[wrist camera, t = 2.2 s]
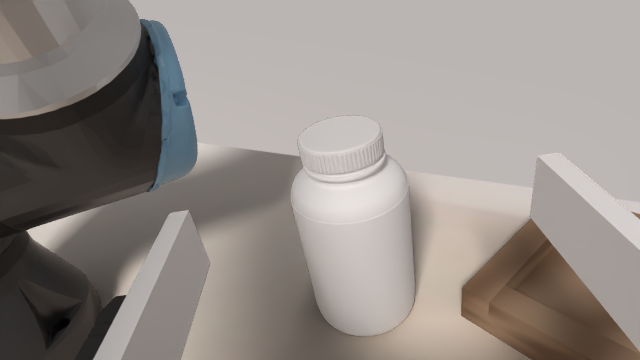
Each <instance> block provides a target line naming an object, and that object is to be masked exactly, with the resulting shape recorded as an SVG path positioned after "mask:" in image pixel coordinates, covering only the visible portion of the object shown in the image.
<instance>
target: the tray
mask: <svg viewBox="0 0 640 360" xmlns="http://www.w3.org/2000/svg"><path fill="white" fill-rule="evenodd" d="M630 212H631V211H630ZM631 213H633V214H634V215H635V216H636V217H637V218H639V219H640V214H637V213H634V212H631ZM461 316H463V317H464V318H466V319H468V320H469V321H471V322H473V323H474V324H476V325H477V326H479V327H481V328H482V329H484V330H485V331H487V332H489V333H490V334H492V335H494V336H495V337H497V338H498V339H500V340H502V341H503V342H505V343H506V344H508V345H510V346H511V347H513V348H515V349H516V350H518V351H519V352H521V353H523V354H524V355H526V356H528V357H529V358H531V359H532V360H640V352H639V350H638V349H637V348H636V347H635V345H634V344H633V343H632V342H631V340H630V339H629V338H628V337H627V336H626V334H625V333H624V332H623V331H622V329H621V328H620V327H619V326H618V324H617V323H616V322H615V321H614V320H613V318H612V317H611V316H610V315H609V313H608V312H607V311H606V310H605V308H604V307H603V306H602V305H601V304H600V302H599V301H598V300H597V299H596V297H595V296H594V295H593V294H592V292H591V291H590V290H589V289H588V288H587V286H586V285H585V284H584V283H583V281H582V280H581V279H580V278H579V276H578V275H577V274H576V273H575V272H574V270H573V269H572V268H571V267H570V265H569V264H568V263H567V262H566V261H565V259H564V258H563V257H562V256H561V254H560V253H559V252H558V251H557V249H556V248H555V247H554V246H553V245H552V243H551V242H550V241H549V240H548V238H547V237H546V236H545V235H544V233H543V232H542V231H541V230H540V229H539V227H538V226H537V225H536V224H535V222H534V221H533V220H532V219H530V220H529V221H528V222H527V223H526V224H525V225H524V226H523V227H522V228H521V229H520V230H519V231H518V232H517V233H516V234H515V235H514V236H513V237H512V238H511V239H510V240H509V241H508V242H507V243H506V244H505V245H504V246H503V247H502V248H501V249H500V250H499V251H498V252H497V253H496V254H495V255H494V256H493V257H492V258H491V259H490V260H489V261H488V262H487V263H486V264H485V265H484V266H483V267H482V268H481V269H480V270H479V271H478V272H477V273H476V274H475V275H474V276H473V277H472V278H471V279H470V280H469V281H468V282H467V283H466V284H465V285H464V286H463V287H462V313H461Z"/></svg>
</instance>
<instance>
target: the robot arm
mask: <svg viewBox="0 0 640 360" xmlns="http://www.w3.org/2000/svg"><path fill="white" fill-rule="evenodd" d="M186 95H187V93H186V89H185V83H184V78H183V74H182V71H181V67H180V64H179V61H178V58H177V55H176V52H175V49H174V46H173V44H172V41H171V39H170V37H169V34H168V32H167V30H166V28H165V27H164V26H163V25H162V24H161V23H160V22H158V21H153V20H152V21H148V20H145V19H140V20H139V17H138V14H137V12H136V10H135V8H134V7H133V5H132V4H131V3H130V2H129V1H128V0H0V360H181V357H182V354H183V351H184V347H185V344H186V341H187V338H188V334H189V331H190V328H191V325H192V321H193V318H194V315H195V312H196V309H197V305H198V302H199V299H200V296H201V292H202V289H203V286H204V283H205V279H206V276H207V273H208V270H209V267H210V260H209V258H208V256H207V253H206V251H205V248H204V246H203V243H202V241H201V239H200V236H199V234H198V231H197V229H196V226H195V224H194V221H193V219H192V217H191V214H190V212H189V210H185V211H178V212H172V213H169V215H168V217H167V219H166V221H165V223H164V224H163V226H162V228H161V230H160V232H159V234H158V236H157V238H156V240H155V242H154V244H153V246H152V248H151V249H150V251H149V253H148V255H147V257H146V259H145V261H144V263H143V265H142V267H141V269H140V271H139V273H138V274H137V276H136V278H135V280H134V282H133V284H132V286H131V288H130V290H129V292H128V294H127V295H123V296H116V297H115V298H114V299H113V300H112V301H111V302H110V303H109V304H108V305H107V306H106V307H105V308H104V309H103V310H102V312H101V313H100V307H101V305H100V299H99V296H98V294H97V292H96V290H95V289H94V287H93V286H92V284H91V283H90V281H89V280H88V278H87V277H86V276H85V275H84V274H83V273H82V272H81V271H80V270H78V269H77V268H75V267H74V266H72V265H71V264H69V263H68V262H66V261H65V260H63V259H62V258H60V257H59V256H57V255H56V254H54V253H53V252H51V251H50V250H48V249H47V248H45V247H44V246H42V245H41V244H39V243H38V242H36V241H35V240H33V239H32V238H31V236H30V235H29V234H28V232H27V231H26V230H28V229H30V228H33V227H36V226H40V225H43V224H46V223H49V222H52V221H55V220H58V219H62V218H65V217H68V216H71V215H74V214H77V213H80V212H84V211H87V210H90V209H93V208H96V207H99V206H102V205H106V204H109V203H112V202H115V201H118V200H121V199H124V198H128V197H131V196H134V195H137V194H140V193H143V192H146V191H147V192H150V191H153V190H155V189H157V188H158V187H159V186H160V185H162V184H164V183H167V182H170V181H172V180H175V179H177V178H180V177H182V176H185V175H186V174H188V173H189V172H190V171H191V170H192V169H193V167H194V165H195V163H196V160H197V151H198V150H197V138H196V131H195V125H194V120H193V116H192V111H191V107H190V103H189V101H188V99H187V97H186ZM530 217H531V219H532V220H533V221H534V222H535V224H536V225H537V226H538V227H539V229H540V230H541V231H542V232H543V233H544V235H545V236H546V237H547V238H548V240H549V241H550V242H551V243H552V245H553V246H554V247H555V248H556V249H557V251H558V252H559V253H560V254H561V256H562V257H563V258H564V259H565V261H566V262H567V263H568V264H569V265H570V267H571V268H572V269H573V270H574V272H575V273H576V274H577V275H578V276H579V278H580V279H581V280H582V281H583V283H584V284H585V285H586V286H587V288H588V289H589V290H590V291H591V292H592V294H593V295H594V296H595V297H596V299H597V300H598V301H599V302H600V304H601V305H602V306H603V307H604V308H605V310H606V311H607V312H608V313H609V315H610V316H611V317H612V318H613V320H614V321H615V322H616V323H617V324H618V326H619V327H620V328H621V329H622V331H623V332H624V333H625V334H626V336H627V337H628V338H629V339H630V340H631V342H632V343H633V344H634V345H635V347H636V348H637V349H638V350H639V352H640V219H639V218H637V217H636V216H635V215H634V214H633V213H631V212H630V211H629V210H628V209H627V208H625V207H624V206H623V205H622V204H621V203H619V202H618V201H617V200H616V199H615V198H613V197H612V196H611V195H610V194H609V193H607V192H606V191H605V190H604V189H602V188H601V187H600V186H599V185H597V184H596V183H595V182H594V181H593V180H592V179H590V178H589V177H588V176H587V175H586V174H584V173H583V172H582V171H581V170H580V169H578V168H577V167H576V166H575V165H574V164H572V163H571V162H570V161H569V160H568V159H566V158H565V157H564V156H563V155H561V154H560V153H559V152H558V153H551V154H546V155H539V156H537V162H536V170H535V179H534V186H533V194H532V202H531V210H530Z"/></svg>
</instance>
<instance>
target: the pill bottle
mask: <svg viewBox="0 0 640 360" xmlns="http://www.w3.org/2000/svg"><path fill="white" fill-rule="evenodd" d="M297 143H298V149H299V153H300V158H301V161H302V163H303V168H302V169H301V170H300V171H299V172H298V174H297V175H296V177H295V179H294V181H293V184H292V188H291V204H292V208H293V212H294V216H295V220H296V224H297V228H298V232H299V235H300V239H301V243H302V247H303V251H304V255H305V259H306V263H307V267H308V271H309V275H310V278H311V282H312V286H313V290H314V294H315V298H316V302H317V305H318V307H319V310H320V312H321V314H322V315H323V317H324V318H325V320H326V321H327V322H328V323H329V324H330V325H331V326H333V327H334V328H336V329H337V330H339V331H341V332H343V333H346V334H349V335H354V336H375V335H379V334H383V333H386V332H388V331H390V330H392V329H394V328H395V327H397V326H398V325H399V324H401V323H402V322H403V321H404V320H405V319H406V317H407V316H408V314H409V313H410V311H411V309H412V307H413V304H414V299H415V277H414V260H413V244H412V228H411V211H410V195H409V183H408V179H407V176H406V174H405V172H404V170H403V168H402V167H401V165H400V164H399V163H398V162H397V161H396V160H395V159H393V158H392V157H390V156H389V155H386V154H385V150H384V142H383V133H382V128H381V126H380V125H379V123H378V122H376V121H375V120H373V119H371V118H369V117H365V116H357V115H347V116H338V117H333V118H329V119H325V120H322V121H319V122H317V123H315V124H313V125H311V126H309V127H308V128H306V129H305V130H304V131H303V132H302V133H301V134H300V136H299V138H298V142H297Z"/></svg>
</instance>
